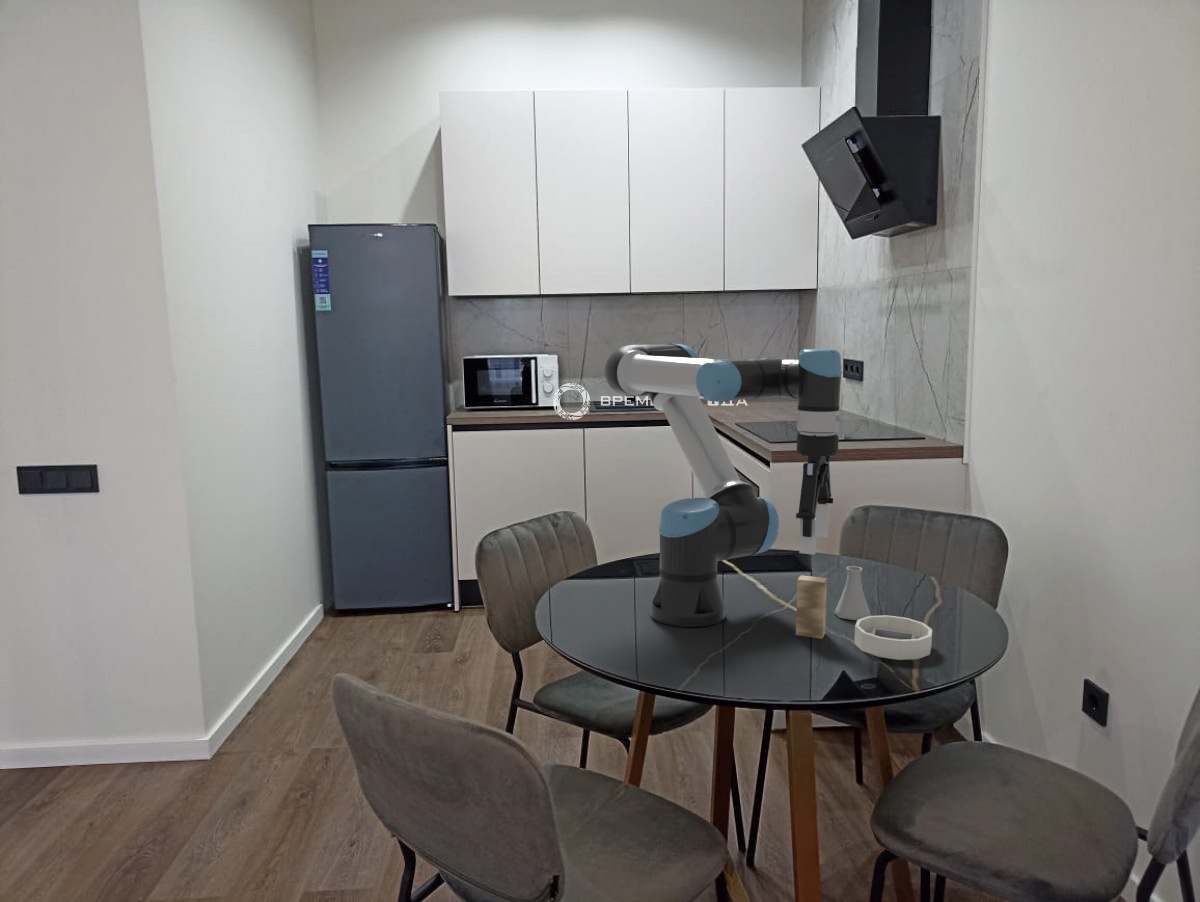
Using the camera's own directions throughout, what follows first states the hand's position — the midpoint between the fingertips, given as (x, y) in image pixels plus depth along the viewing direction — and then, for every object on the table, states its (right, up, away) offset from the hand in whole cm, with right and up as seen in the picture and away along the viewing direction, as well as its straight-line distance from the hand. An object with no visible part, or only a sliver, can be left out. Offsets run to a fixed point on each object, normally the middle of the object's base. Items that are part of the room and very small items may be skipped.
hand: (814, 544), depth 164 cm
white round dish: (+14, -18, -3) cm, 23 cm away
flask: (+11, -16, +13) cm, 24 cm away
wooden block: (0, -17, +3) cm, 18 cm away
